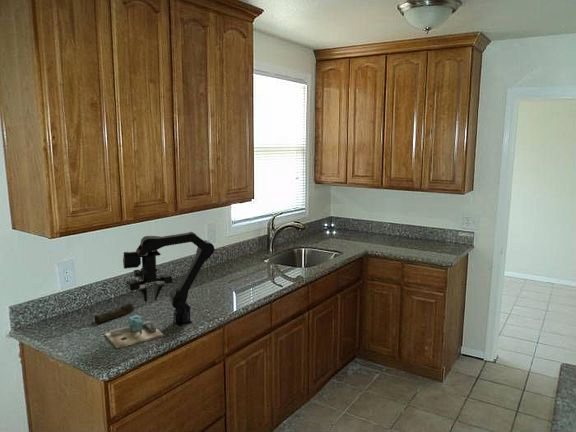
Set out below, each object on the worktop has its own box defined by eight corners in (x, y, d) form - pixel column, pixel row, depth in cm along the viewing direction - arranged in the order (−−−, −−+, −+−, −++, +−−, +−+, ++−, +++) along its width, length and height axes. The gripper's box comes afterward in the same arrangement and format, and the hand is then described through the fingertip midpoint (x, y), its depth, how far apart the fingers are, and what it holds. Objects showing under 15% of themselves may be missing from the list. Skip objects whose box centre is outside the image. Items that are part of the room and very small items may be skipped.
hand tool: (98, 325, 198) (98, 315, 197) (94, 323, 200) (93, 313, 200) (136, 313, 212) (136, 304, 212) (132, 311, 215) (131, 301, 214)
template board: (149, 324, 199) (149, 322, 199) (163, 336, 187) (163, 334, 187) (105, 335, 187) (105, 333, 187) (117, 348, 176) (117, 346, 176)
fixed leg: (150, 326, 195) (150, 318, 194) (156, 331, 190) (155, 323, 189) (145, 328, 193) (144, 319, 193) (150, 332, 189) (150, 324, 188)
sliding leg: (138, 325, 195) (137, 314, 194) (145, 332, 188) (145, 321, 187) (129, 328, 192) (128, 316, 191) (136, 335, 185) (135, 323, 185)
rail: (149, 325, 196) (149, 320, 196) (151, 326, 195) (151, 322, 195) (109, 335, 186) (109, 330, 186) (111, 336, 184) (110, 332, 184)
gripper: (162, 258, 203) (163, 291, 206) (120, 265, 192) (122, 300, 195) (172, 264, 195) (174, 298, 197) (129, 271, 183) (131, 307, 186)
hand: (150, 301), depth 194 cm, fingers open, 4 cm apart
